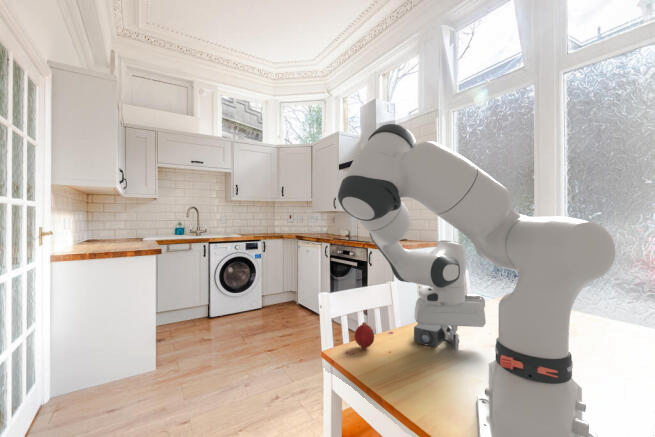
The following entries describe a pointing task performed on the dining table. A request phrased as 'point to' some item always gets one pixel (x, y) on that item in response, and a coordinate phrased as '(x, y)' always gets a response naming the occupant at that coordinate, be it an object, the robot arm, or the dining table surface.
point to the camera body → (428, 334)
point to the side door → (454, 338)
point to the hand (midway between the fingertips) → (448, 339)
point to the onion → (364, 335)
